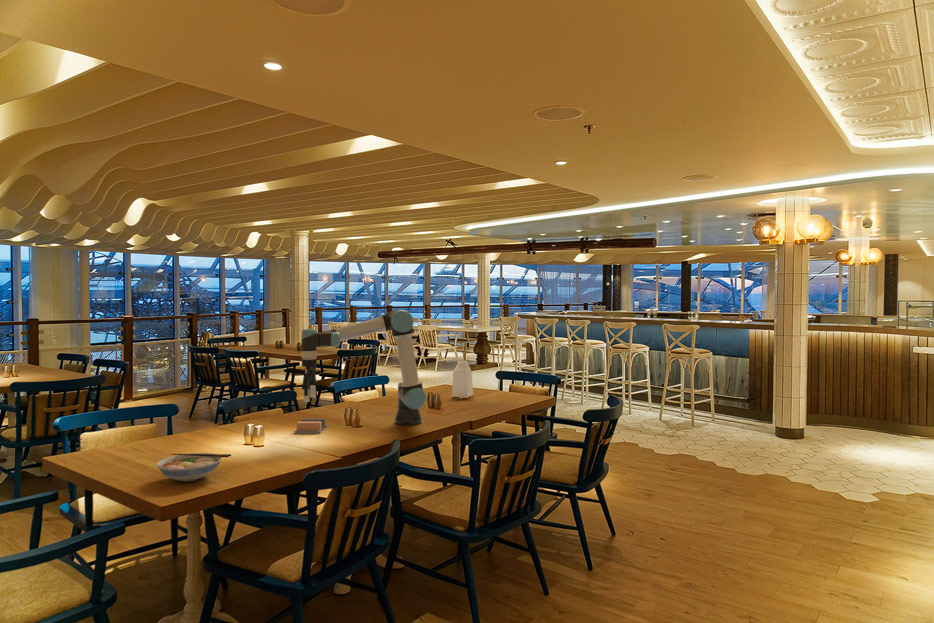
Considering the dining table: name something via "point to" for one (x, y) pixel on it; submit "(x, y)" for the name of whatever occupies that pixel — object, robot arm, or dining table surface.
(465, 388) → the milk
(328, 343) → the robot arm
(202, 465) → the ramen bowl
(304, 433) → the slot board
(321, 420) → the charcoal bar
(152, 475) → the dining table surface
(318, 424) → the terracotta bar
